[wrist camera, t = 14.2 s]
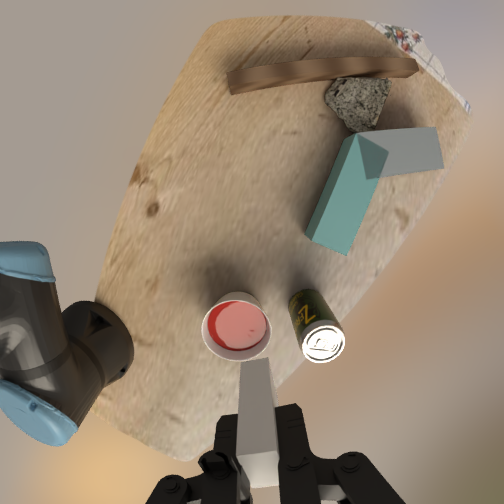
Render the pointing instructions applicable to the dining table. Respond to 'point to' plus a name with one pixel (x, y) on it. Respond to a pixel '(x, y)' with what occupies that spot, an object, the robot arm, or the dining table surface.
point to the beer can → (315, 326)
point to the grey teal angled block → (367, 179)
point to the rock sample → (358, 101)
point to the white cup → (236, 327)
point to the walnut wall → (319, 71)
